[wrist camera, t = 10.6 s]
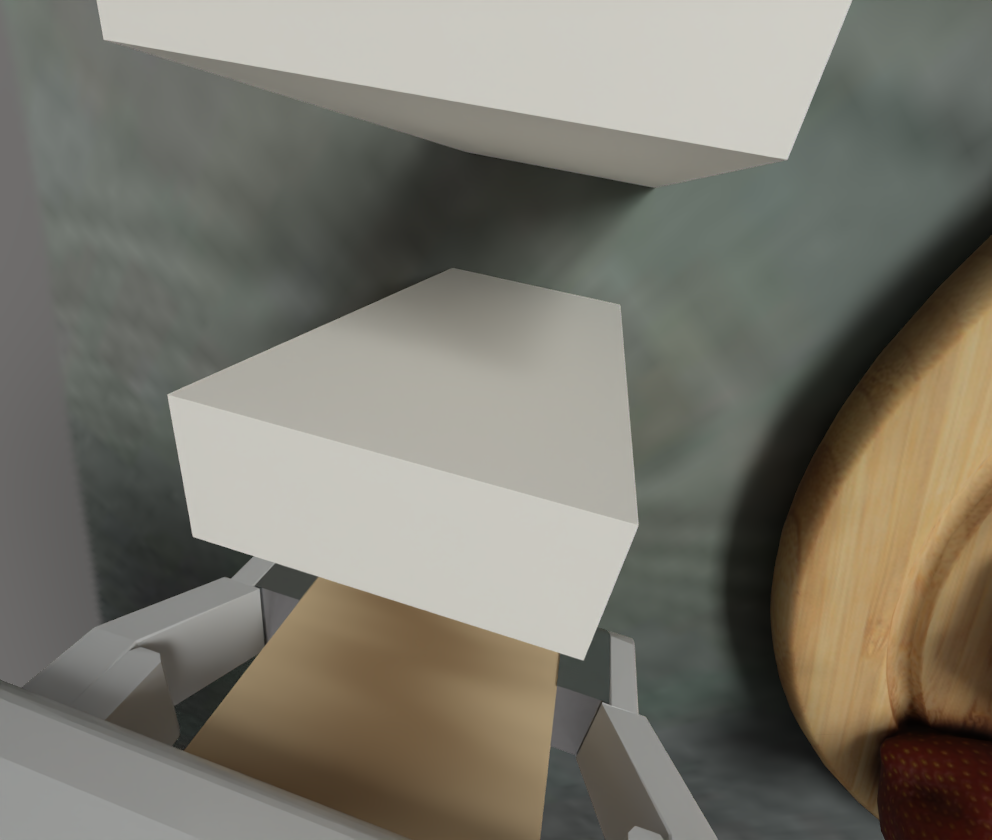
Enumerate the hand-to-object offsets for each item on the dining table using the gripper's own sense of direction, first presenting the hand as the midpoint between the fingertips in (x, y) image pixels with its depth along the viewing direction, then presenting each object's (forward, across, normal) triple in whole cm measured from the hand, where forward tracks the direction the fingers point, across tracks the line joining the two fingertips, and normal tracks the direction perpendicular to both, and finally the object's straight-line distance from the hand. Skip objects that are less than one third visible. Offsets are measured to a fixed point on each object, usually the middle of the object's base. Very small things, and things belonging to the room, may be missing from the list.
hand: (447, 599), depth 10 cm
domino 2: (+6, 0, -5) cm, 8 cm away
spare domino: (+5, 0, 0) cm, 5 cm away
